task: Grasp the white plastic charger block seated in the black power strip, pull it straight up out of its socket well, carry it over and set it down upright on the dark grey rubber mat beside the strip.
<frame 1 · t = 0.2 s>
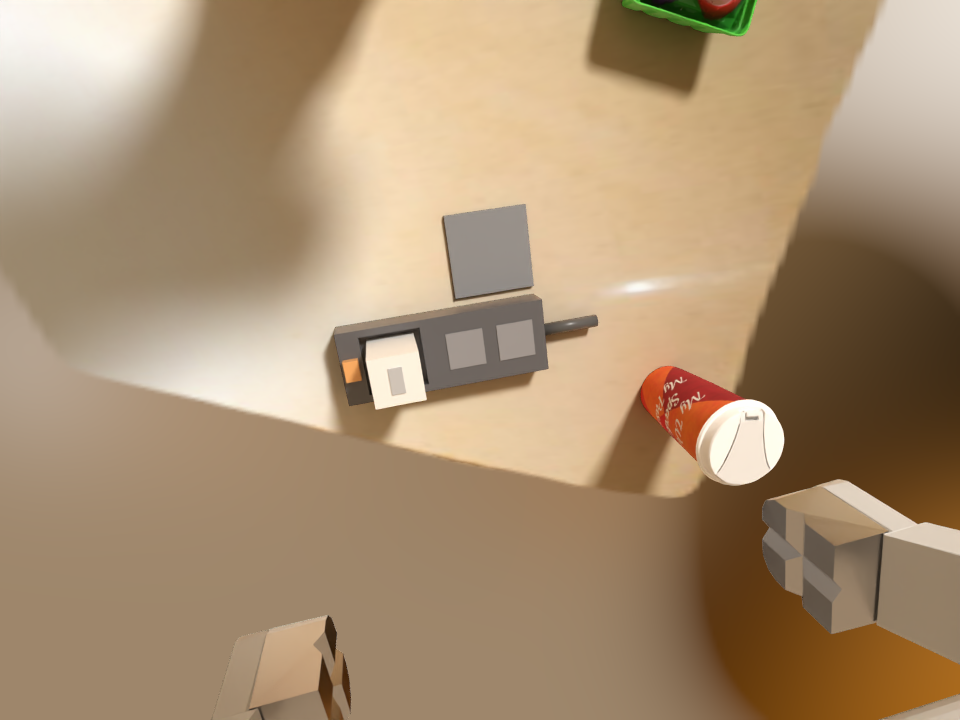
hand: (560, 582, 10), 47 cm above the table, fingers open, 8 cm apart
charger: (393, 357, 56), point 2 cm above the table, touching power strip
power strip: (442, 344, 58), on the table
mat: (489, 251, 56), on the table
coffee cup: (663, 390, 64), on the table
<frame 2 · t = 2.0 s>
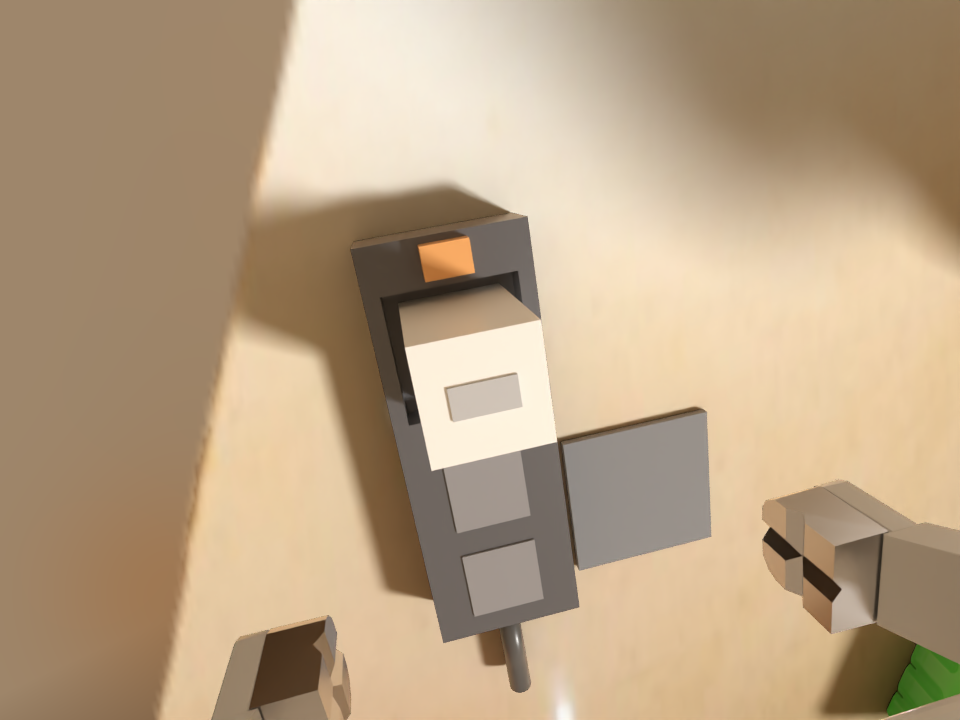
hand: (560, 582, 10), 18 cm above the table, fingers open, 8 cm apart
charger: (457, 341, 26), point 2 cm above the table, touching power strip
fruit basket: (940, 658, 41), on the table
power strip: (470, 426, 29), on the table
mat: (638, 489, 32), on the table
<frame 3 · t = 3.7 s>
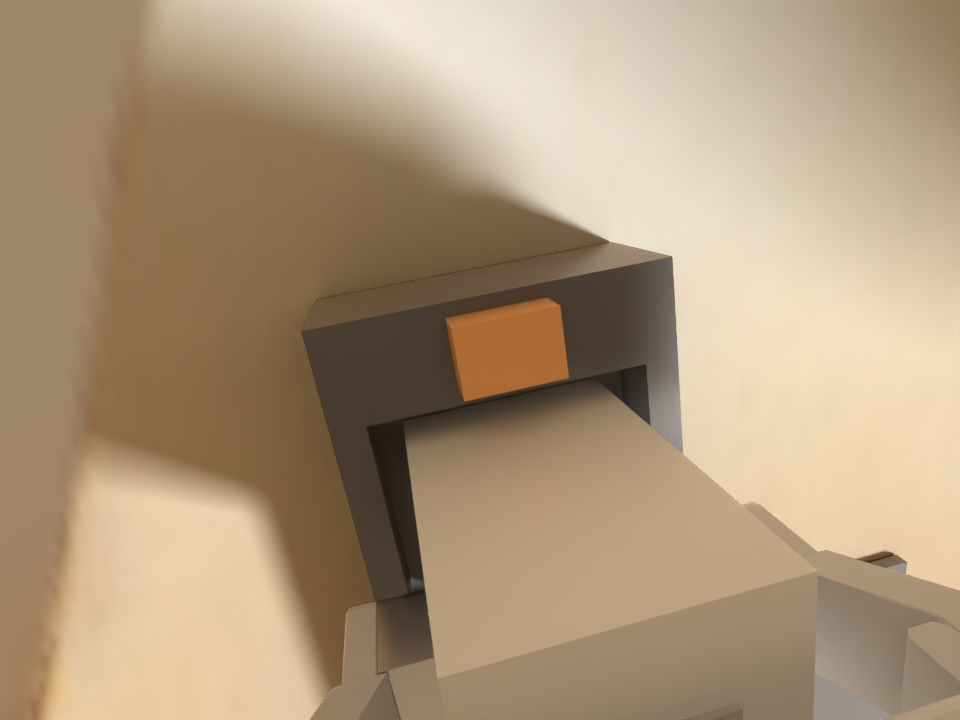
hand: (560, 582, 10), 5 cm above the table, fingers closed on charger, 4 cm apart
charger: (514, 484, 14), point 2 cm above the table, touching gripper, power strip
power strip: (525, 605, 17), on the table
mat: (785, 679, 20), on the table
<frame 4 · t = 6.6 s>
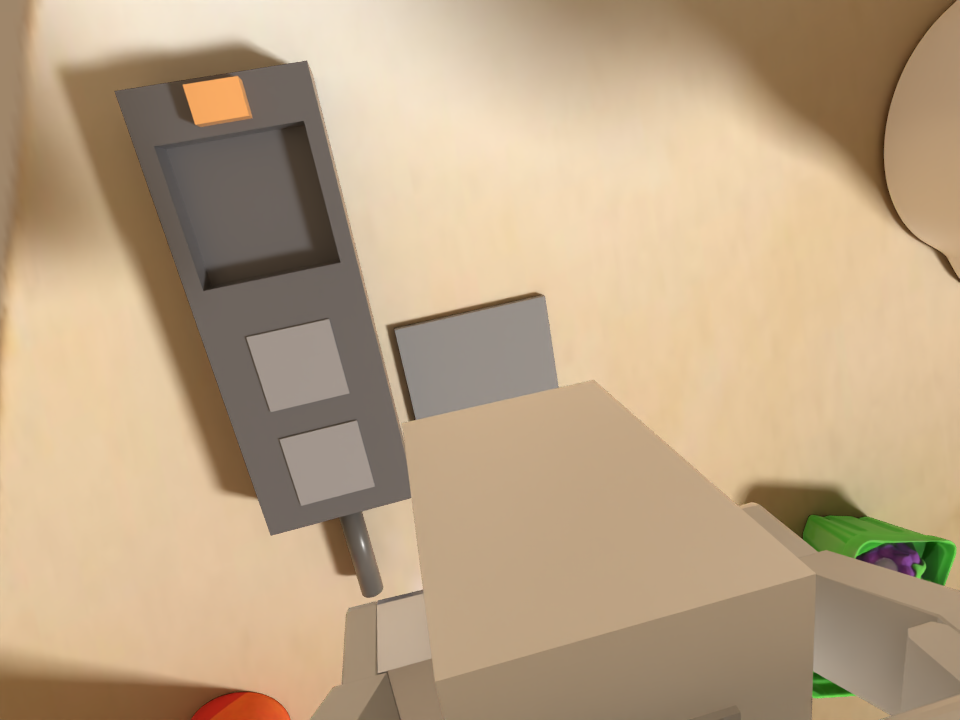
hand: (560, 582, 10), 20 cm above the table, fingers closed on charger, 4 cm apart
charger: (514, 486, 14), point 17 cm above the table, touching gripper
fruit basket: (824, 569, 40), on the table
power strip: (294, 310, 28), on the table
mat: (483, 382, 31), on the table
when the fingers open (5 cm above the table, at t = 9.8 s): charger drops 1 cm, resting on mat.
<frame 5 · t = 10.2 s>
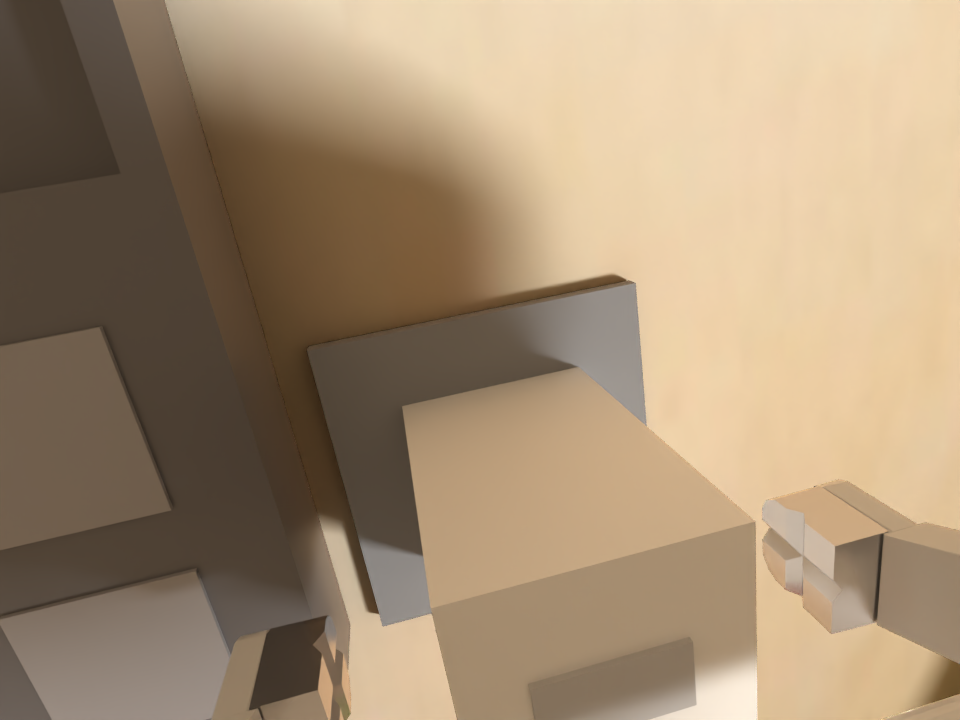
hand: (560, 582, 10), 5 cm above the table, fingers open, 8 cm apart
charger: (505, 465, 15), resting on mat
power strip: (72, 301, 12), on the table
mat: (499, 456, 15), on the table
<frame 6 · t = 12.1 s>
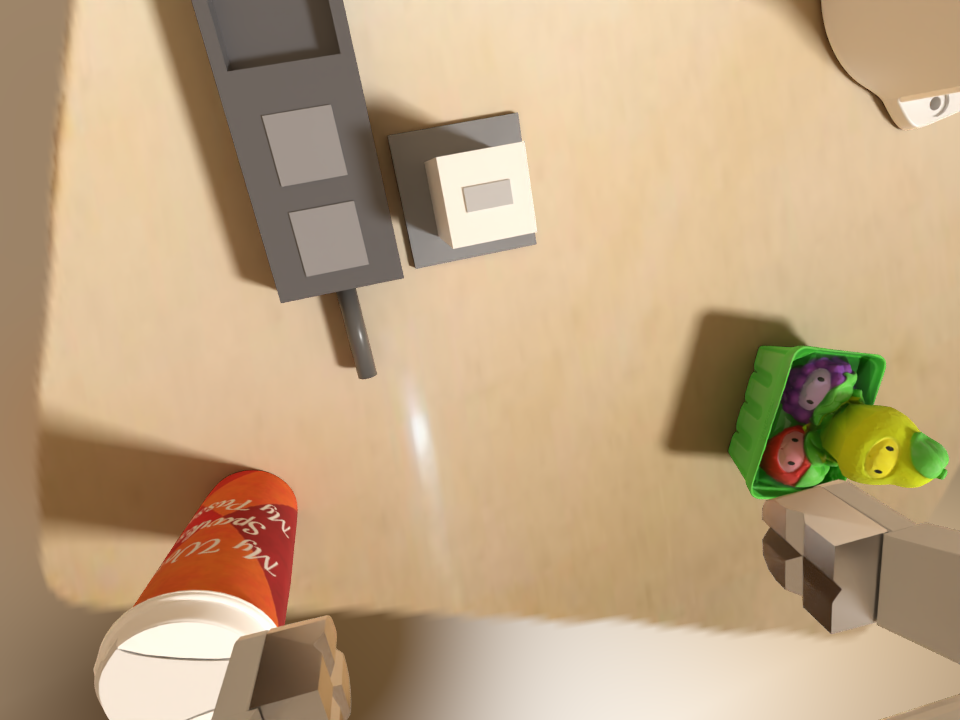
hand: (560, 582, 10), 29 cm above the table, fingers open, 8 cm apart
charger: (467, 193, 35), resting on mat
fruit basket: (775, 402, 45), on the table
power strip: (302, 112, 33), on the table
mat: (464, 192, 36), on the table
coffee cup: (252, 506, 40), on the table
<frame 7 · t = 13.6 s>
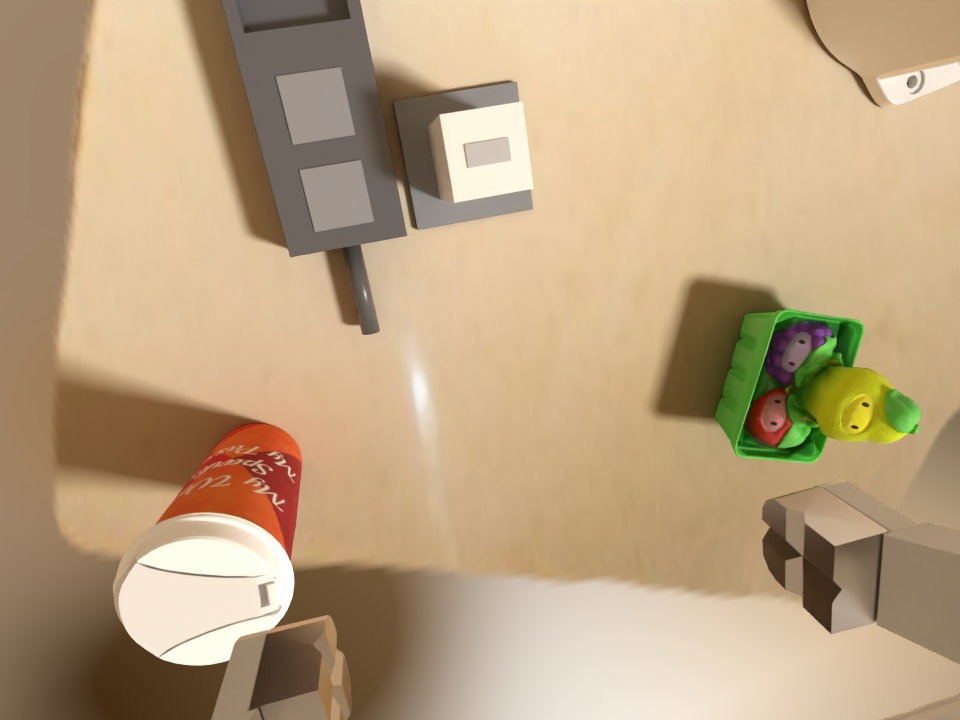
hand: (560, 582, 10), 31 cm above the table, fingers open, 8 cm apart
charger: (467, 158, 37), resting on mat
fruit basket: (760, 369, 47), on the table
power strip: (312, 77, 35), on the table
mat: (465, 157, 38), on the table
coffee cup: (258, 459, 41), on the table
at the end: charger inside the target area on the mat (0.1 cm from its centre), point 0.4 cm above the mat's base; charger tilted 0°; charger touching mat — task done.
